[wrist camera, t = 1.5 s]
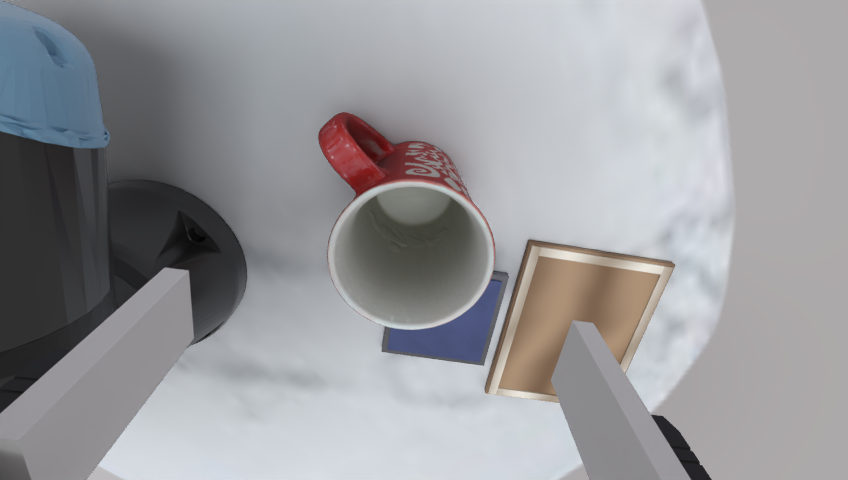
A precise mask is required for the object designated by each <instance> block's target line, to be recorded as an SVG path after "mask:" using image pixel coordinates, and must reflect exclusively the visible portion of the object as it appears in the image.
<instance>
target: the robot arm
mask: <svg viewBox="0 0 848 480" xmlns="http://www.w3.org/2000/svg"><path fill="white" fill-rule="evenodd" d="M109 142H110V134H109V131H108V130H107V129H106V127H105V126H104V123H103V116H102V109H101V102H100V95H99V88H98V80H97V73H96V68H95V65H94V62H93V59H92V57H91V55H90V53H89V52H88V50H87V49H86V47H85V46H84V45H83V44H82V43H81V42H80V41H79V40H78V38H77V37H76V36H74V35H73V34H72V33H71V32H69V31H68V30H67V29H65V28H64V27H62V26H61V25H59V24H58V23H56V22H54V21H52V20H50V19H48V18H46V17H44V16H42V15H39V14H37V13H35V12H32V11H29V10H27V9H24V8H21V7H18V6H16V5H13V4H10V3H7V2H4V1H2V0H0V480H87V479H88V477H89V476H90V475H91V473H92V472H93V471H94V469H95V468H96V467H97V465H98V464H99V463H100V461H101V460H102V459H103V457H104V456H105V455H106V453H107V452H108V451H109V450H110V448H111V447H112V446H113V444H114V443H115V442H116V440H117V439H118V438H119V436H120V435H121V434H122V432H123V431H124V430H125V428H126V427H127V426H128V424H129V423H130V422H131V420H132V419H133V418H134V417H135V415H136V414H137V413H138V411H139V410H140V409H141V407H142V406H143V405H144V403H145V402H146V401H147V399H148V398H149V397H150V395H151V394H152V393H153V391H154V390H155V389H156V388H157V386H158V385H159V384H160V382H161V381H162V380H163V378H164V377H165V376H166V374H167V373H168V372H169V370H170V369H171V368H172V366H173V365H174V364H175V362H176V361H177V360H178V359H179V357H180V356H181V355H182V353H183V352H184V351H185V349H186V348H188V347H189V346H191V345H193V344H195V343H198V342H200V341H202V340H204V339H206V338H207V337H209V336H211V335H212V334H214V333H215V332H216V331H217V330H219V329H220V328H221V327H222V326H223V325H224V324H225V323H226V321H227V320H228V319H229V317H230V316H231V315H232V313H233V312H234V310H235V309H236V308H237V306H238V305H239V303H240V301H241V299H242V297H243V294H244V291H245V286H246V265H245V260H244V256H243V253H242V250H241V248H240V245H239V243H238V241H237V239H236V238H235V236H234V234H233V233H232V231H231V230H230V228H229V227H228V226H227V224H226V223H225V222H224V221H223V220H222V219H221V218H220V217H219V216H218V215H217V214H216V213H215V212H214V211H213V210H212V209H211V208H210V207H208V206H207V205H206V204H204V203H203V202H202V201H200V200H199V199H197V198H195V197H194V196H192V195H190V194H188V193H187V192H184V191H182V190H180V189H178V188H175V187H172V186H169V185H166V184H163V183H159V182H153V181H146V180H126V181H119V182H115V183H111V184H108V179H107V164H106V149H105V147H107V146H108V144H109ZM551 382H552V385H553V387H554V390H555V392H556V395H557V397H558V400H559V402H560V405H561V408H562V410H563V413H564V415H565V418H566V420H567V423H568V425H569V428H570V431H571V433H572V436H573V438H574V441H575V443H576V446H577V448H578V451H579V454H580V456H581V459H582V461H583V464H584V466H585V469H586V471H587V474H588V476H589V479H590V480H711V478H710V477H709V475H708V474H707V472H706V471H705V469H704V468H703V466H702V465H700V464H699V460H698V459H697V457H696V456H695V454H694V453H693V452H692V451H690V447H689V445H688V444H687V442H686V441H685V439H684V438H683V436H682V435H681V433H680V432H679V431H678V430H677V429H676V428H675V427H674V426H673V425H672V424H671V423H670V422H669V421H667V420H666V419H665V418H664V417H663V416H657V415H650V413H649V411H648V410H647V408H646V407H645V405H644V403H643V402H642V400H641V399H640V397H639V395H638V394H637V392H636V390H635V389H634V387H633V386H632V384H631V382H630V381H629V379H628V378H627V376H626V374H625V373H624V371H623V370H622V368H621V366H620V365H619V363H618V362H617V360H616V358H615V357H614V355H613V354H612V352H611V350H610V349H609V347H608V346H607V344H606V342H605V341H604V339H603V338H602V336H601V334H600V333H599V331H598V330H597V328H596V326H595V325H594V323H590V322H582V321H575V320H572V323H571V326H570V329H569V331H568V334H567V337H566V340H565V342H564V345H563V348H562V351H561V353H560V356H559V359H558V362H557V364H556V367H555V370H554V373H553V375H552V378H551Z"/></svg>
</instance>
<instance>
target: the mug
mask: <svg viewBox="0 0 848 480" xmlns="http://www.w3.org/2000/svg"><path fill="white" fill-rule="evenodd" d="M318 138H319V144H320V147H321V150H322V152H323V154H324V156H325V157H326V159H327V160H328V162H329V163H330V165H331V166H332V167H333V168H334V170H335V171H336V172H337V173H338V174H339V175H340V176H341V177H342V178H343V179H344V180H345V181H346V182H347V183H348V184H349V185H350V186H351V187H352V188H353V189H354V190H355V192H356V196H355V198H354V200H353V201H352V202H351V203H350V204H349V205H348V206H347V207H346V208H345V209H344V210H343V212H342V213H341V214H340V216H339V217H338V219H337V221H336V223H335V225H334V227H333V229H332V232H331V234H330V238H329V242H328V251H327V259H328V267H329V272H330V275H331V278H332V281H333V283H334V285H335V287H336V289H337V291H338V293H339V294H340V296H341V297H342V298H343V299H344V300H345V302H346V303H347V304H348V305H349V306H350V307H352V308H353V309H354V310H355V311H356V312H358V313H359V314H361V315H362V316H364V317H365V318H367V319H369V320H371V321H373V322H375V323H377V324H380V325H383V326H386V327H390V328H396V329H404V330H417V329H426V328H432V327H435V326H439V325H442V324H445V323H448V322H450V321H452V320H454V319H455V318H457V317H459V316H460V315H462V314H463V313H465V312H466V311H467V310H468V309H470V308H471V307H472V306H473V305H474V304H475V303H476V302H477V301H478V299H479V298H480V297H481V296H482V294H483V293H484V291H485V290H486V288H487V286H488V284H489V282H490V280H491V277H492V274H493V269H494V264H495V243H494V239H493V235H492V232H491V229H490V227H489V224H488V222H487V221H486V219H485V217H484V216H483V214H482V213H481V211H480V210H479V209H478V208H477V207H476V205H475V204H474V203H473V201H472V200H471V198H470V196H469V194H468V192H467V189H466V187H465V186H464V184H463V182H462V180H461V178H460V176H459V174H458V172H457V169H456V167H455V166H454V164H453V163H452V161H451V160H450V158H449V157H448V156H447V155H446V154H445V153H444V152H443V151H441V150H440V149H438V148H436V147H434V146H433V145H430V144H427V143H424V142H414V141H411V142H404V143H400V144H397V145H395V146H394V145H392V144H391V143H390V142H388V141H387V140H386V139H385V138H384V137H383V136H382V135H381V134H380V133H378V132H377V131H376V130H375V129H374V128H372V127H371V126H370V125H368V124H367V123H366V122H364V121H363V120H361V119H360V118H358V117H357V116H355V115H353V114H350V113H346V112H342V113H339V114H337V115H336V116H334V117H333V118H332V119H330V120H329V121H328V122H327V123H326V124H325V125H324V126H323V127H322V128H321V130H320V132H319V137H318Z"/></svg>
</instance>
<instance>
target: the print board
mask: <svg viewBox="0 0 848 480" xmlns="http://www.w3.org/2000/svg"><path fill="white" fill-rule="evenodd" d="M674 267H675V264H673V263H672V262H669V261H662V260H656V259H649V258H643V257H636V256H630V255H624V254H617V253H611V252H604V251H598V250H592V249H585V248H579V247H572V246H566V245H560V244H553V243H547V242H540V241H534V240H528V243H527V247H526V250H525V254H524V257H523V260H522V264H521V267H520V271H519V274H518V277H517V281H516V284H515V288H514V291H513V294H512V298H511V301H510V305H509V308H508V311H507V315H506V318H505V322H504V325H503V328H502V332H501V335H500V339H499V342H498V345H497V349H496V352H495V356H494V359H493V362H492V366H491V369H490V373H489V376H488V379H487V383H486V386H485V393H488V394H495V395H503V396H511V397H518V398H526V399H533V400H541V401H549V402H556V403H560V402H559V400H558V397H557V395H556V392H555V390H554V387H553V385H552V382H551V378H552V375H553V373H554V370H555V367H556V364H557V362H558V359H559V356H560V353H561V351H562V348H563V345H564V342H565V340H566V337H567V334H568V331H569V329H570V326H571V323H572V320H575V321H582V322H590V323H594V325H595V326H596V328H597V330H598V331H599V333H600V334H601V336H602V338H603V339H604V341H605V342H606V344H607V346H608V347H609V349H610V350H611V352H612V354H613V355H614V357H615V358H616V360H617V362H618V363H619V365H620V366H621V368H622V370H623V371H624V373H626V371H627V369H628V367H629V365H630V362H631V360H632V358H633V356H634V354H635V352H636V349H637V347H638V345H639V343H640V341H641V339H642V336H643V334H644V332H645V330H646V328H647V326H648V323H649V321H650V319H651V317H652V315H653V313H654V310H655V308H656V306H657V304H658V302H659V300H660V297H661V295H662V293H663V291H664V289H665V287H666V284H667V282H668V280H669V278H670V276H671V274H672V271H673V269H674Z"/></svg>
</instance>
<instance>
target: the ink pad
mask: <svg viewBox="0 0 848 480" xmlns="http://www.w3.org/2000/svg"><path fill="white" fill-rule="evenodd" d="M508 278H509V276H508V273H503V272H496V271H493V274H492V277H491V280H490V282H489V284H488V286H487V288H486V290H485V291H484V293H483V294H482V296H481V297H480V298H479V299H478V301H477V302H476V303H475V304H474V305H473V306H472V307H471V308H470V309H468V310H467V311H466V312H465V313H463V314H462V315H460V316H459V317H457V318H455V319H454V320H452V321H450V322H448V323H445V324H442V325H439V326H435V327H432V328H426V329H417V330H404V329H396V328H390V327H385V333H384V339H383V346H382V352H387V353H394V354H402V355H409V356H417V357H424V358H431V359H439V360H446V361H453V362H461V363H468V364H476V365H483V366H484V362H485V359H486V355H487V352H488V348H489V345H490V341H491V338H492V334H493V331H494V327H495V324H496V320H497V317H498V313H499V310H500V306H501V303H502V299H503V296H504V292H505V289H506V285H507V281H508Z"/></svg>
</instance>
